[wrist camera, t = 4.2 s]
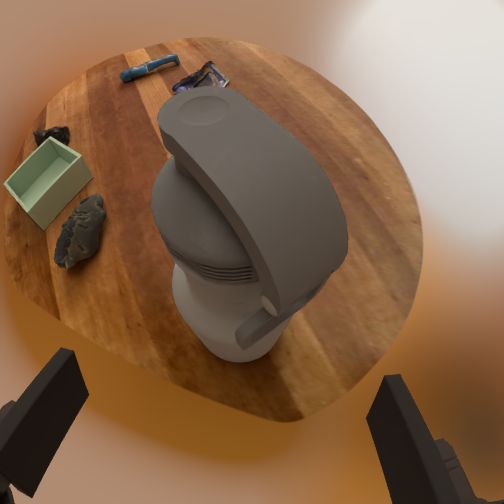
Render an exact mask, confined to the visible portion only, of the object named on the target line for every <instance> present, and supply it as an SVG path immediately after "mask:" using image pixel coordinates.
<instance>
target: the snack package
mask: <svg viewBox="0 0 504 504" xmlns="http://www.w3.org/2000/svg"><path fill="white" fill-rule="evenodd" d="M198 70H199V69H198ZM198 70H197V71H198ZM228 82H229V78H228V77H226V76H225V75H224V73H223V72H222V71H221V70H220V69H218V68H217V67H216V65H215V64H214V63H213V62H212V61H208V62H207V63H206V64H205V65H204V66H203V67H202V68H201V69H200V70H199V71H198V72H195V73H193V74H192V75H190V76H188V77H187V78H185V79H182V80H181V81H180V82H179V83H177V84H176V85H174V86H173V88H172V89H173V91H174V92H176V93H180V92H183V91H185V90H188V89H192V88H196V87H203V86H220V87H224V86H226V84H227V83H228Z"/></svg>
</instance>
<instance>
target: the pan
mask: <svg viewBox="0 0 504 504" xmlns="http://www.w3.org/2000/svg"><path fill="white" fill-rule="evenodd" d="M92 178H93V175H92V173H91V171H90V170H89V168H88V166H87V164H86V162H85V160H84V159H83V157H82V155H80V154H78V153H77V152H75V151H74V150H72V149H70V148H69V147H67V146H65V145H64V144H62V143H61V142H59V141H57V140H56V139H54V138H52V137H51V136H50V137H49V138H48V139H47V140H46V141H44V142H43V143H42V144H41V145H40V146H39V147H38V148H37V149H36V150H35V151H34V152H33V153H32V154H31V155H30V156H29V157H28V158H27V159H26V160H25V161H24V162H23V163H22V164H21V165H20V166H19V167H18V168H17V170H16V171H15V172H14V173H13V174H12V175H11V176H10V177H9V178H8V179H7V181H6V182H5V183H4V185H5V187H6V188H7V189H8V191H9V192H10V193H11V194H12V196H13V197H14V198H15V199H16V200H17V202H18V203H19V204H20V205H21V206H22V208H23V209H24V210H25V211H26V212H27V213H28V215H29V216H30V217H31V218H32V219H33V220H34V221H35V222H36V223H37V224H38V225H39V226H40V227H41V228H42V229H43V231H45V229H46V228H47V227H48V226H49V225H50V223H51V222H52V221H53V220H54V219H55V218H56V216H57V215H58V214H59V213H60V212H61V211H62V210H63V209H64V207H65V206H66V205H67V204H68V203H69V202H70V201H71V200H72V199H73V198H74V197H75V196H76V194H77V193H78V192H79V191H80V190H81V189H82V188H83V187H84V186H85V185H86V184H87V183H88V182H89V181H90V180H91V179H92Z"/></svg>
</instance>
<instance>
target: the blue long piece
mask: <svg viewBox="0 0 504 504" xmlns="http://www.w3.org/2000/svg"><path fill="white" fill-rule="evenodd" d="M170 62H175V63H176V64H177V65H179V64H180V61H179V59H178V56H177V54H172V55H168V56H165V57H162V58H159V59H156V60H153V61H148V62H145V63H143V64H141V65H139V66H137V67H131V68H129V69H127V70H125V71H123V72H121V73H120V78H121V80H122V81H123V82H127V81H131V80H132V77H137V76H142V75H144V74H146V73H148V72H150V71H152V70H154V69H155V68H157V67H159V66H161V65H164V64H167V63H170Z"/></svg>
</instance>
